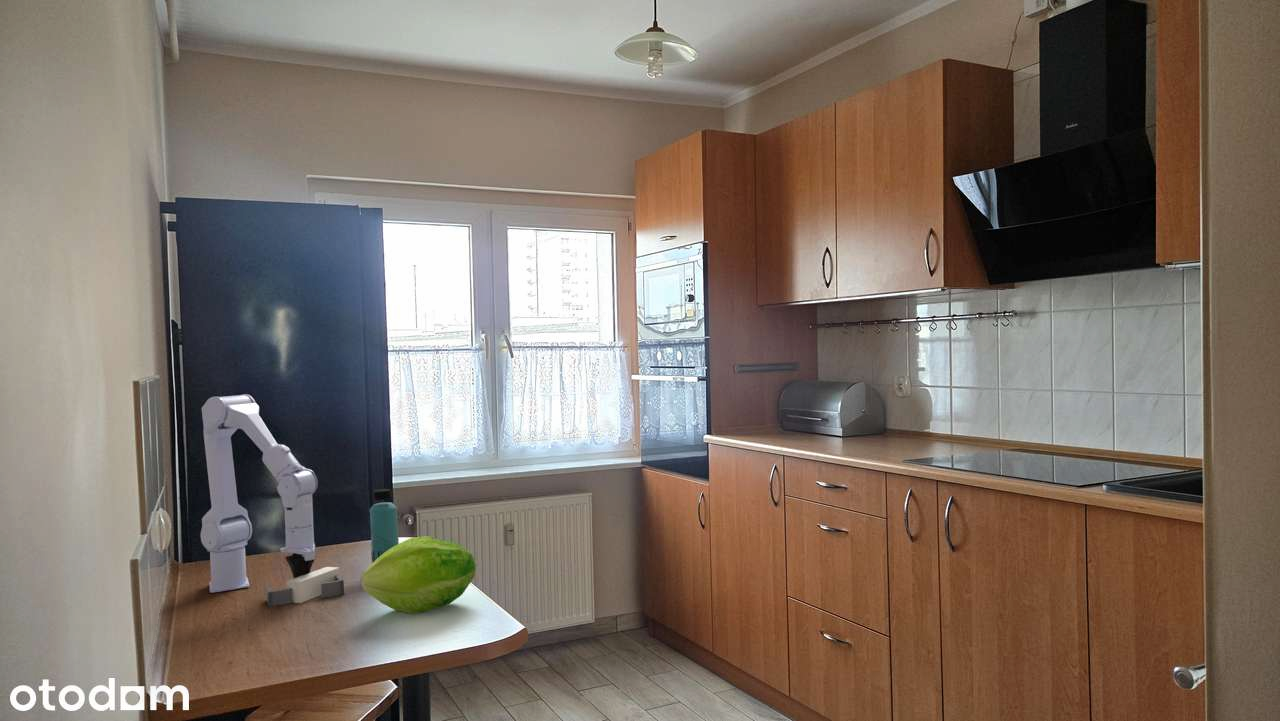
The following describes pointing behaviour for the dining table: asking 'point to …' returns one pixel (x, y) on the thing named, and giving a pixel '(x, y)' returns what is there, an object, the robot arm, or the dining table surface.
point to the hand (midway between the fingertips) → (301, 587)
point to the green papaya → (420, 574)
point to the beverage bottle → (383, 524)
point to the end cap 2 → (333, 587)
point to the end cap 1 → (278, 596)
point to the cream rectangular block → (311, 584)
